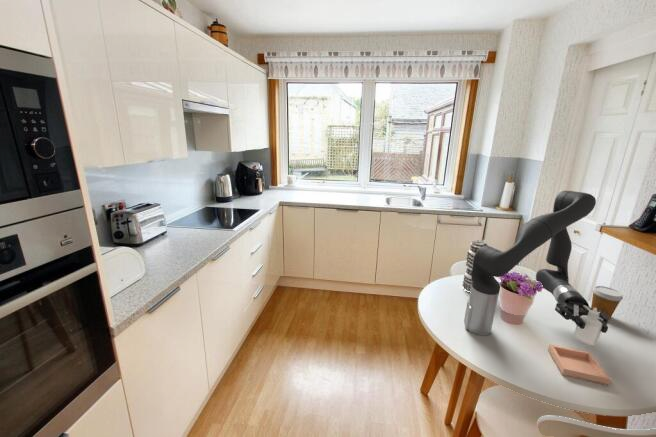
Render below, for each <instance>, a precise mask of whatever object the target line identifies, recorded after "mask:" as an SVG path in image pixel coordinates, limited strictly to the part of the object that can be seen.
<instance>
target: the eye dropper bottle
mask: <svg viewBox="0 0 656 437" xmlns="http://www.w3.org/2000/svg"><path fill="white" fill-rule="evenodd" d="M598 316H599V313H598V312H597V308H594V309H593V310H589V312H588V315H587V316H586V315H582V316H580V317H581V318H582V320H583V321H584V322H585V328H584V329H581V328H580V327H579V326H577V325H576V326H575V330H574V332H573V337H574V338H575V339H576V340H578V341H579V342H581V343H583V344H586V345H588V346H591V347H594V346H596V345H598V342H599V338H600V336H601V333H602V332H601V330H602V326H603V325H602V323H601V322H600V321H599V320H597V319H598Z"/></svg>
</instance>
